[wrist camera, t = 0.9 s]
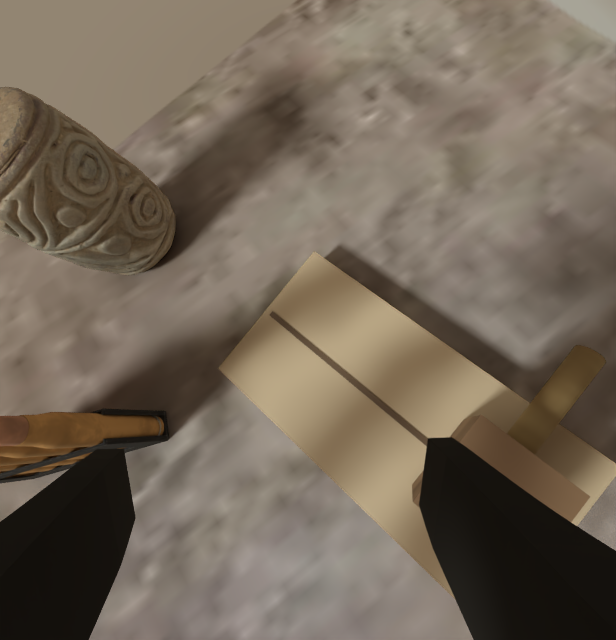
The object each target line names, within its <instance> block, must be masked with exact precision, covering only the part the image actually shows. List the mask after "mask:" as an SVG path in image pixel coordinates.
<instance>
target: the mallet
mask: <svg viewBox="0 0 616 640" xmlns="http://www.w3.org/2000/svg"><path fill="white" fill-rule="evenodd" d="M605 363H606V360H605V358H604V357H603V356H602V355H600V354H599V353H597V352H596V351H594V350H592V349H590V348H588V347H585V346H581V345H576V346H575V347H574V348H573V349H572V350H571V352H570V353H569V354H568V356H567V357H566V358H565V359H564V361H563V362H562V363H561V365H560V366H559V367H558V368H557V370H556V371H555V372H554V374H553V375H552V376H551V377H550V379H549V380H548V381H547V383H546V384H545V385H544V386H543V388H542V389H541V390H540V392H539V393H538V394H537V395H536V397H535V398H534V399H533V400H532V402H531V403H530V404H529V406H528V407H527V408H526V409H525V411H524V412H523V413H522V415H521V416H520V417H519V418H518V420H517V421H516V422H515V424H514V425H513V426H512V427H511V429H510V430H509V431H508V433H505V432H504V431H503V430H501V429H500V428H499V427H497V426H496V425H495V424H493V423H492V422H491V421H489V420H488V419H487V418H485V417H484V416H483V415H478V416H474V417H470V418H466V419H463V421H462V422H461V423H460V425H459V426H458V427H457V428H456V430H455V431H454V432H453V433H452V435H451V436H450V437H452V438H454V439H456V440H457V441H458V442H460V443H461V444H463V445H464V446H466V447H467V448H468V449H470V450H471V451H472V452H474V453H475V454H476V455H478V456H479V457H480V458H482V459H483V460H484V461H486V462H487V463H488V464H490V465H491V466H492V467H494V468H495V469H496V470H498V471H499V472H500V473H502V474H503V475H504V476H506V477H507V478H509V479H510V480H511V481H513V482H514V483H515V484H517V485H518V486H519V487H521V488H522V489H524V490H525V491H526V492H528V493H529V494H531V495H532V496H533V497H535V498H536V499H538V500H539V501H540V502H542V503H543V504H545V505H546V506H548V507H549V508H550V509H552V510H553V511H555V512H556V513H558V514H559V515H561V516H562V517H564V518H565V519H567V520H568V521H570V522H572V521H573V519H574V518H575V517H576V515H577V514H578V513H579V511H580V510H581V509H582V507H583V506H584V505H585V503H586V502H587V501H588V499H589V498H590V496H589V495H588V494H586V493H585V492H584V491H582V490H581V489H580V488H578V487H577V486H576V485H574V484H573V483H572V482H570V481H569V480H568V479H566V478H565V477H564V476H562V475H561V474H560V473H558V472H557V471H556V470H554V469H553V468H552V467H550V466H549V465H548V464H546V463H545V462H544V461H542V460H541V459H540V458H539V457H537V456H536V455H535V454H536V453H537V451H538V450H539V449H540V447H541V446H542V445H543V444H544V442H545V441H546V440H547V438H548V437H549V436H550V434H551V433H552V432H553V431H554V429H555V428H556V427H557V425H558V424H559V423H560V421H561V420H562V419H563V418H564V416H565V415H566V414H567V412H568V411H569V410H570V409H571V407H572V406H573V405H574V403H575V402H576V401H577V399H578V398H579V397H580V396H581V394H582V393H583V392H584V390H585V389H586V388H587V387H588V385H589V384H590V383H591V381H592V380H593V379H594V377H595V376H596V375H597V374H598V372H599V371H600V370H601V368H602V367H603V366H604V364H605ZM422 478H423V471H422V473H421V474H420V475H419V476H418V478H417V479H416V480H415V481H414V483H413V484H412V500H413V503H414V504H416V505H417V506H418V507H419V500H420V493H421V485H422ZM419 508H420V507H419Z"/></svg>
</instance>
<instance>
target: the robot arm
mask: <svg viewBox="0 0 616 640" xmlns="http://www.w3.org/2000/svg"><path fill="white" fill-rule="evenodd" d="M419 507H420V510H421V513H422V517H423V520H424V523H425V526H426V530H427V533H428V536H429V539H430V542H431V545H432V548H433V550H434V552H435V555H436V557H437V559H438V561H439V564H440V566H441V568H442V570H443V573H444V575H445V577H446V579H447V582H448V584H449V586H450V588H451V591H452V593H453V595H454V597H455V599H456V602H457V604H458V606H459V608H460V610H461V613H462V615H463V617H464V619H465V621H466V624H467V626H468V628H469V630H470V633H471V635H472V637H473V639H474V640H616V551H615V550H614V549H612V548H610V547H609V546H607V545H605V544H604V543H602V542H601V541H599V540H597V539H596V538H594V537H593V536H591V535H590V534H588V533H586V532H585V531H583V530H582V529H580V528H579V527H577V526H576V525H574V524H573V523H571V522H570V521H568V520H567V519H565V518H564V517H562V516H561V515H559V514H558V513H556V512H555V511H553V510H552V509H550V508H549V507H548V506H546V505H545V504H543V503H542V502H540V501H539V500H538V499H536V498H535V497H533V496H532V495H531V494H529V493H528V492H526V491H525V490H524V489H522V488H521V487H519V486H518V485H517V484H515V483H514V482H513V481H511V480H510V479H509V478H507V477H506V476H504V475H503V474H502V473H500V472H499V471H498V470H496V469H495V468H494V467H492V466H491V465H490V464H488V463H487V462H486V461H484V460H483V459H482V458H480V457H479V456H478V455H476V454H475V453H474V452H472V451H471V450H470V449H468V448H467V447H466V446H464V445H463V444H461V443H460V442H458V441H457V440H456V439H454V438H452V437H445V438H428V441H427V448H426V456H425V463H424V470H423V478H422V485H421V493H420V500H419ZM134 521H135V512H134V506H133V500H132V494H131V489H130V483H129V477H128V471H127V465H126V459H125V453H124V448H120V449H96V450H95V451H93V452H92V453H90V454H89V455H88V456H86V457H85V458H84V459H82V460H81V461H80V462H78V463H77V464H76V465H74V466H73V467H72V468H70V469H69V470H68V471H66V472H65V473H64V474H63V475H61V476H60V477H59V478H57V479H56V480H55V481H54V482H52V483H51V484H50V485H48V486H47V487H46V488H44V489H43V490H42V491H41V492H39V493H38V494H37V495H35V496H34V497H33V498H31V499H30V500H29V501H27V502H26V503H25V504H23V505H22V506H21V507H19V508H18V509H17V510H16V511H14V512H13V513H12V514H10V515H9V516H8V517H6V518H5V519H4V520H2V521H1V522H0V640H89V638H90V635H91V633H92V631H93V629H94V626H95V624H96V622H97V619H98V617H99V615H100V613H101V610H102V608H103V606H104V603H105V601H106V599H107V596H108V594H109V592H110V590H111V587H112V585H113V583H114V580H115V578H116V576H117V573H118V571H119V568H120V566H121V563H122V560H123V557H124V554H125V551H126V548H127V545H128V541H129V538H130V535H131V531H132V528H133V524H134Z"/></svg>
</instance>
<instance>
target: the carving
mask: <svg viewBox="0 0 616 640" xmlns="http://www.w3.org/2000/svg"><path fill="white" fill-rule="evenodd" d="M175 227H176V218H175V214H174V212H173V209H172V207H171V204H170V201H169V200H168V198H167V197H166V196H165V195H164V194H163V193H162V191H160V189H159V188H158V187H157V186H156V185H155V184H154V183H153V182H152V181H151V180H150V179H149V178H148V177H147V176H145V174H144V173H143V172H142V171H140V170H139V169H138V168H137V167H136V166H135V165H133V164H132V163H130V162H129V161H128V160H126V159H125V158H123V157H122V156H120V155H119V154H118V153H116V152H115V151H114V150H113V149H111V148H109V147H108V146H106V145H105V144H104V143H103V142H102V141H101V140H100V139H99V138H98V137H97V136H95V135H94V134H93V133H92V132H90V131H89V130H87V129H86V128H84V127H83V126H81V125H80V124H78V123H77V122H75V121H74V120H72V119H71V118H69V117H67V116H66V115H65V114H63V113H62V112H60V111H58V110H57V109H55V108H54V107H52V106H50V105H47V104H45V103H44V102H43V101H42V100H41V99H39V98H38V97H36V96H34V95H32V94H28V93H26V92H25V91H22V90H20V89H18V88H12V87H1V88H0V230H1V231H3V232H5V233H7V234H9V235H11V236H13V237H15V238H17V239H19V240H21V241H23V242H25V243H28V244H29V245H30V246H32V247H33V248H35V249H37V250H41V251H42V252H44V253H46V254H49V255H52V256H55V257H58V258H61V259H64V260H67V261H70V262H72V263H74V264H77V265H79V266H82V267H86V268H89V269H94V270H101V271H107V272H111V273H117V274H122V275H135V274H138V273H141V272H144V271H147V270H148V269H150V268H151V267H153V266H154V265H155V264H157V263H158V262H159V260H160V259H161V258H162V257H163V256H164V255H165V254H166V253H167V252H168V250H169V249H170V247H171V245H172V242H173V238H174V234H175Z"/></svg>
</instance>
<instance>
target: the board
mask: <svg viewBox="0 0 616 640" xmlns="http://www.w3.org/2000/svg"><path fill="white" fill-rule="evenodd" d="M218 369H219V370H220V371H221V372H222V373H223V374H224V375H225V376H226V377H227V378H228V379H229V380H230V381H231V382H232V383H233V384H234V385H236V386H237V387H238V388H239V389H240V390H241V391H242V392H243V393H244V394H245V395H246V396H247V397H248V398H249V399H250V400H251V401H252V402H253V403H254V404H255V405H256V406H257V407H258V408H259V409H260V410H261V411H262V412H263V413H264V414H265V415H266V416H267V417H268V418H269V419H270V420H271V421H273V422H274V423H275V424H276V425H277V426H278V427H279V428H280V429H281V430H282V431H283V432H284V433H285V434H286V435H287V436H288V437H289V438H290V439H291V440H292V441H293V442H294V443H295V444H296V445H297V446H298V447H299V448H300V449H301V450H302V451H303V452H304V453H305V454H306V455H307V456H308V457H310V458H311V459H312V460H313V461H314V462H315V463H316V464H317V465H318V466H319V467H320V468H321V469H322V470H323V471H324V472H325V473H326V474H327V475H328V476H329V477H330V478H331V479H332V480H333V481H334V482H335V483H336V484H337V485H338V486H339V487H340V488H341V489H342V490H343V491H344V492H345V493H347V494H348V495H349V496H350V497H351V498H352V499H353V500H354V501H355V502H356V503H357V504H358V505H359V506H360V507H361V508H362V509H363V510H364V511H365V512H366V513H367V514H368V515H369V516H370V517H371V518H372V519H373V520H374V521H375V522H376V523H377V524H378V525H379V526H380V527H381V528H382V529H384V530H385V531H386V532H387V533H388V534H389V535H390V536H391V537H392V538H393V539H394V540H395V541H396V542H397V543H398V544H399V545H400V546H401V547H402V548H403V549H404V550H405V551H406V552H407V553H408V554H409V555H410V556H411V557H412V558H413V559H414V560H415V561H416V562H417V563H418V564H419V565H421V566H422V567H423V568H424V569H425V570H426V571H427V572H428V573H429V574H430V575H431V576H432V577H433V578H434V579H435V580H436V581H437V582H438V583H439V584H440V585H441V586H442V587H443V588H444V589H445V590H446V591H447V592H448V593H449V594H450V595H451V596H452V597H453V598H454V599H455V597H454V595H453V593H452V591H451V588H450V586H449V584H448V582H447V579H446V577H445V575H444V573H443V570H442V568H441V566H440V564H439V561H438V559H437V557H436V555H435V552H434V550H433V548H432V545H431V542H430V539H429V536H428V533H427V530H426V526H425V523H424V520H423V517H422V513H421V510H420V508H419V507H418V506H417V505H416V504H414V503H413V500H412V484H413V483H414V481H415V480H416V479H417V478H418V476H419V475H420V474H421V473H422V471H423V470H424V463H425V456H426V448H427V441H428V438H445V437H450V436H451V435H452V433H453V432H454V431H455V430H456V428H457V427H458V426H459V425H460V423H461V422H462V421H463V419H466V418H470V417H474V416H478V415H483V416H484V417H485V418H487V419H488V420H489V421H491V422H492V423H493V424H495V425H496V426H497V427H499V428H500V429H501V430H503V431H504V432H505V433H508V431H509V430H510V429H511V427H512V426H513V425H514V424H515V422H516V421H517V420H518V418H519V417H520V416H521V415H522V413H523V412H524V411H525V409H526V408H527V407H528V406H529V404H530V403H529V402H528V401H526V400H525V399H523V398H522V397H520V396H519V395H518V394H516V393H515V392H513V391H512V390H510V389H509V388H508V387H506V386H505V385H503V384H502V383H501V382H499V381H498V380H496V379H495V378H493V377H492V376H491V375H489V374H488V373H486V372H485V371H483V370H482V369H481V368H479V367H478V366H476V365H475V364H474V363H472V362H471V361H469V360H468V359H466V358H465V357H464V356H462V355H461V354H459V353H458V352H456V351H455V350H454V349H452V348H451V347H449V346H448V345H447V344H445V343H444V342H442V341H441V340H439V339H438V338H437V337H435V336H434V335H432V334H431V333H429V332H428V331H427V330H425V329H424V328H422V327H421V326H420V325H418V324H417V323H415V322H414V321H412V320H411V319H410V318H408V317H407V316H405V315H404V314H403V313H401V312H400V311H398V310H397V309H395V308H394V307H393V306H391V305H390V304H388V303H387V302H385V301H384V300H383V299H381V298H380V297H378V296H377V295H376V294H374V293H373V292H371V291H370V290H368V289H367V288H366V287H364V286H363V285H361V284H360V283H358V282H357V281H356V280H354V279H353V278H351V277H350V276H349V275H347V274H346V273H344V272H343V271H341V270H340V269H339V268H337V267H336V266H334V265H333V264H331V263H330V262H329V261H327V260H326V259H324V258H323V257H322V256H320V255H319V254H317V253H316V252H313V253H312V255H311V256H310V257H309V258H308V259H307V261H306V262H305V263H304V264H303V266H302V267H301V268H300V269H299V270H298V272H297V273H296V274H295V275H294V276H293V278H292V279H291V280H290V281H289V283H288V284H287V285H286V286H285V287H284V289H283V290H282V291H281V292H280V293H279V295H278V296H277V297H276V298H275V300H274V301H273V302H272V303H271V304H270V306H269V307H268V308H267V309H266V310H265V312H264V313H263V314H262V315H261V317H260V318H259V319H258V320H257V321H256V323H255V324H254V325H253V326H252V327H251V329H250V330H249V331H248V332H247V334H246V335H245V336H244V337H243V338H242V340H241V341H240V342H239V343H238V344H237V346H236V347H235V348H234V349H233V351H232V352H231V353H230V354H229V355H228V357H227V358H226V359H225V360H224V361H223V363H222V364H221V365H220V366H219V368H218ZM535 455H536V456H537V457H539V458H540V459H541V460H542V461H544V462H545V463H546V464H548V465H549V466H550V467H552V468H553V469H554V470H556V471H557V472H558V473H560V474H561V475H562V476H564V477H565V478H566V479H568V480H569V481H570V482H572V483H573V484H574V485H576V486H577V487H578V488H580V489H581V490H582V491H584V492H585V493H586V494H588V495H589V496H590V498H589V499H588V501H587V502H586V503H585V505H584V506H583V507H582V509H581V510H580V511H579V513H578V514H577V515H576V517H575V518H574V519H573V521H572V522H571V523H573V524H574V525H576V526H577V525H578V524H579V523H580V522H581V520H582V519H583V518H584V516H585V515H586V514H587V513H588V511H589V510H590V509H591V507H592V506H593V505H594V503H595V502H596V501H597V500H598V498H599V497H600V496H601V494H602V493H603V492H604V491H605V489H606V488H607V487H608V485H609V484H610V483H611V481H612V480H613V479H614V478H615V476H616V463H614V462H613V461H611V460H610V459H609V458H607V457H606V456H604V455H603V454H601V453H600V452H599V451H597V450H596V449H594V448H593V447H591V446H590V445H589V444H587V443H586V442H584V441H583V440H582V439H580V438H579V437H577V436H576V435H574V434H573V433H572V432H570V431H569V430H567V429H566V428H564V427H563V426H562V425H560V424H558V425H557V427H556V428H555V429H554V431H553V432H552V433H551V434H550V436H549V437H548V438H547V440H546V441H545V442H544V444H543V445H542V446H541V447H540V449H539V450H538V451H537V453H536V454H535ZM455 600H456V599H455Z"/></svg>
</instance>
